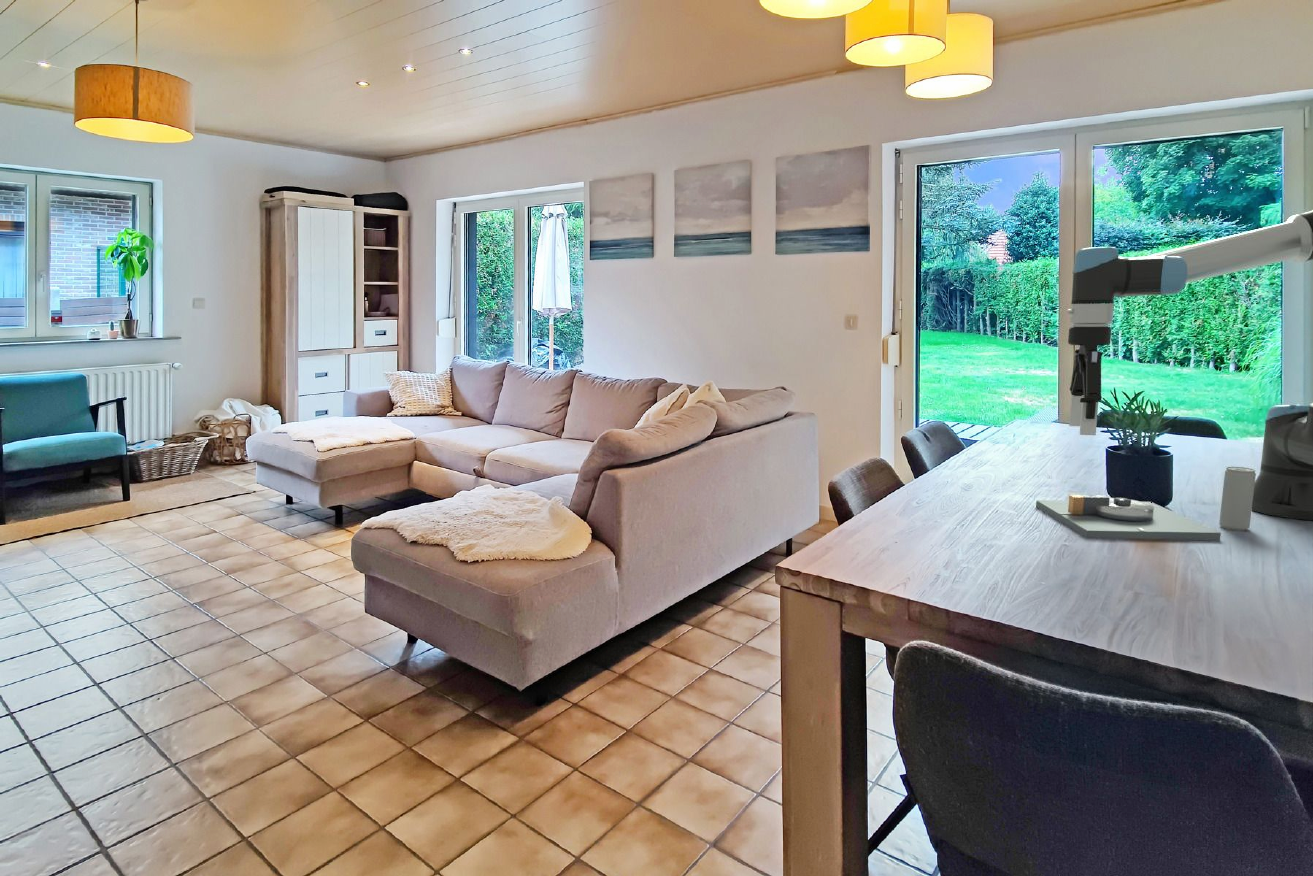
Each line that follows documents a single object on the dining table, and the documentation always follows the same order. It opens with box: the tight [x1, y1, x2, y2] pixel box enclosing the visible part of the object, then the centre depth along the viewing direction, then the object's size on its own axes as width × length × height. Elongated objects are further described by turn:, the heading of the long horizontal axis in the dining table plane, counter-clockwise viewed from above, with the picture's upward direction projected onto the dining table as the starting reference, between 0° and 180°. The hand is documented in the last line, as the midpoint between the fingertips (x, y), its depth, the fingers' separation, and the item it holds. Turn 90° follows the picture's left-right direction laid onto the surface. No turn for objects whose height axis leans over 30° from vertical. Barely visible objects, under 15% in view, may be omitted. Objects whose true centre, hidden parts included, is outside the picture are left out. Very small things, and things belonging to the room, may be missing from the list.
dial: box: [1068, 494, 1154, 521], centre depth 154 cm, size 16×11×4 cm
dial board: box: [1035, 499, 1222, 541], centre depth 155 cm, size 24×24×2 cm
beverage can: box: [1218, 466, 1257, 532], centre depth 149 cm, size 5×5×12 cm
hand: (1081, 430), depth 157 cm, fingers open, 12 cm apart
